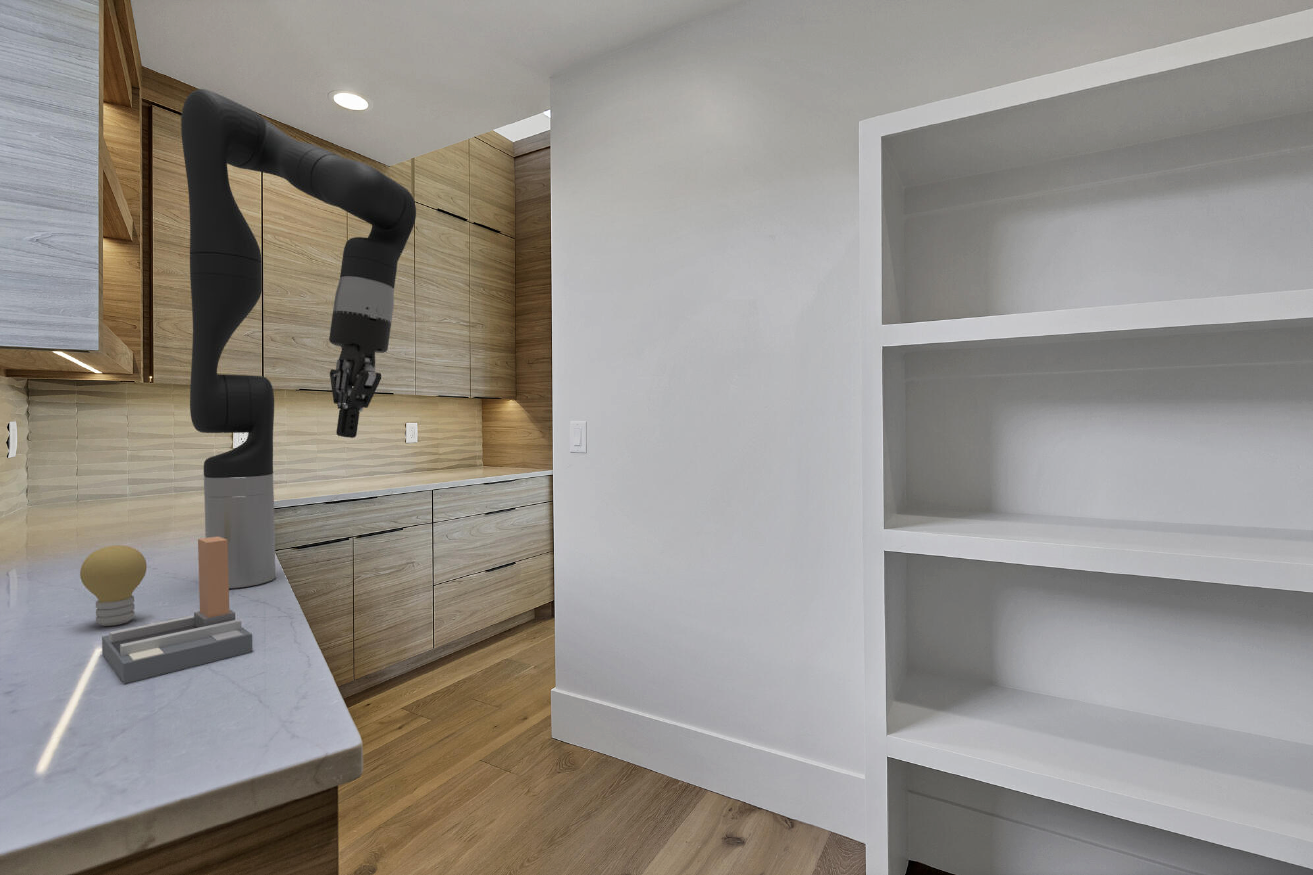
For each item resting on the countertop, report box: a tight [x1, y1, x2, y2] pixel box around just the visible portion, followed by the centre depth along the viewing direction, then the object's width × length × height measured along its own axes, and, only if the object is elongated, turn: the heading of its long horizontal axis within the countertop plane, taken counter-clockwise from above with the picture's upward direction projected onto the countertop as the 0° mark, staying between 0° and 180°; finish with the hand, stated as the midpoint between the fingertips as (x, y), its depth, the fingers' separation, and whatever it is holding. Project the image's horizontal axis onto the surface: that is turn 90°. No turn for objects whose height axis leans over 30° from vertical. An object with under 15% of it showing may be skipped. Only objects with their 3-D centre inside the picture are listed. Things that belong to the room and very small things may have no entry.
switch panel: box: [101, 614, 253, 685], centre depth 68 cm, size 12×11×3 cm
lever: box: [193, 536, 236, 628], centre depth 71 cm, size 4×3×10 cm
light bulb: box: [79, 545, 148, 627], centre depth 79 cm, size 6×6×10 cm
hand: (346, 436), depth 86 cm, fingers closed
